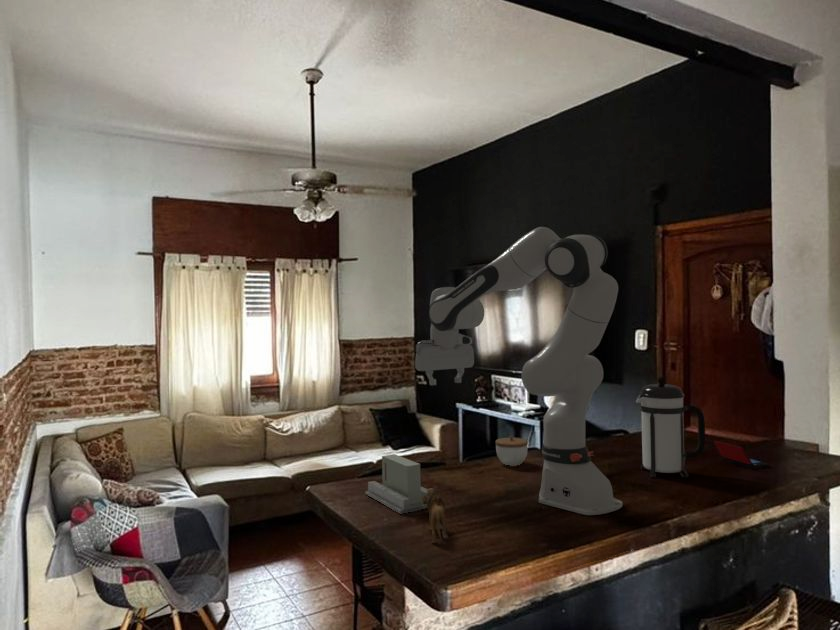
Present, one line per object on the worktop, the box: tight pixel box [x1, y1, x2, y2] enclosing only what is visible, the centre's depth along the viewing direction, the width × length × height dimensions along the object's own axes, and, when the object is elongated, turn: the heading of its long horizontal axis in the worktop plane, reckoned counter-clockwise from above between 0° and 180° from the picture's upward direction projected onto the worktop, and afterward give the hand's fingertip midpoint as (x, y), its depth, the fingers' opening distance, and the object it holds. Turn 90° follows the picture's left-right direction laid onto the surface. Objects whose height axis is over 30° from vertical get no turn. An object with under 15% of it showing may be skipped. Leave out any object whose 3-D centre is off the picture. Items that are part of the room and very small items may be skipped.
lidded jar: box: [495, 435, 529, 467], centre depth 196 cm, size 11×11×9 cm
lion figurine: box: [420, 487, 449, 545], centre depth 134 cm, size 15×5×9 cm, turn 12°
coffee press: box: [635, 376, 706, 479], centre depth 181 cm, size 17×16×30 cm
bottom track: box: [364, 480, 428, 515], centre depth 159 cm, size 20×12×4 cm, turn 32°
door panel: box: [381, 453, 422, 504], centre depth 159 cm, size 14×4×10 cm, turn 32°
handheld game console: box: [713, 439, 770, 470], centre depth 190 cm, size 12×11×7 cm
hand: (445, 383), depth 181 cm, fingers open, 8 cm apart
